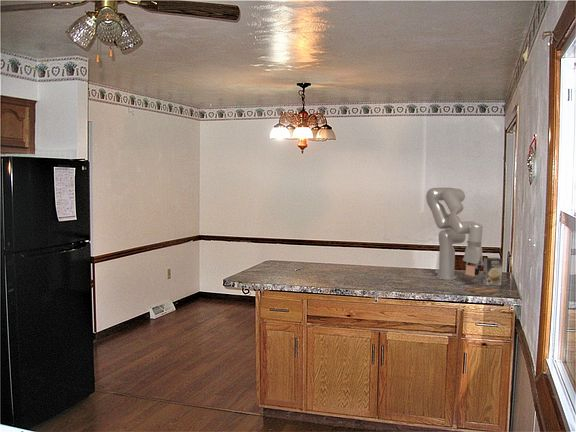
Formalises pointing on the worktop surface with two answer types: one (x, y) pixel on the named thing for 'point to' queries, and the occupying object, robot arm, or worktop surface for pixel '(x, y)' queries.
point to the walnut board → (482, 290)
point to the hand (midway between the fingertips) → (472, 273)
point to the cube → (470, 270)
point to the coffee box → (492, 271)
